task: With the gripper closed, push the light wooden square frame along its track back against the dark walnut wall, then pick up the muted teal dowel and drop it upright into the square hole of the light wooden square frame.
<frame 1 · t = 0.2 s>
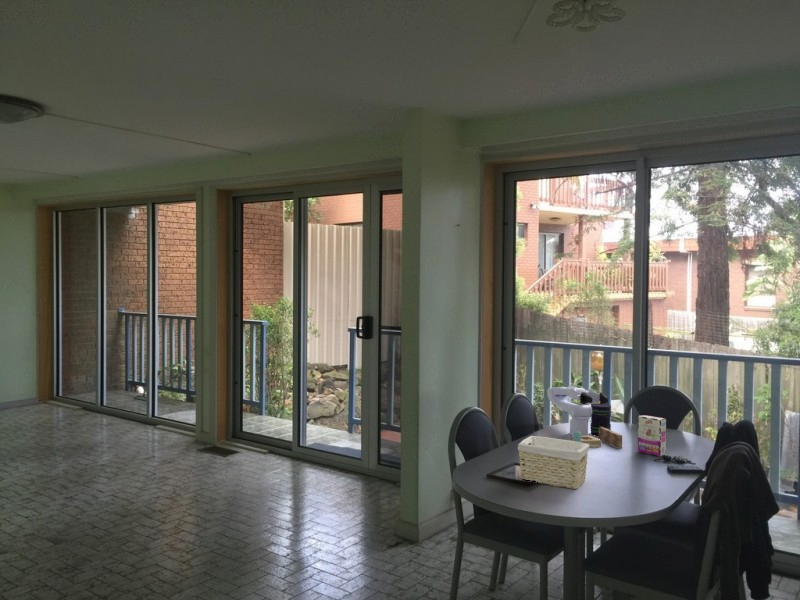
hand: (599, 400, 295), 21 cm above the table, tool horizontal, fingers open, 7 cm apart
dowel: (576, 449, 289), on the table
storage jar: (600, 434, 319), on the table
light wooden square frame: (586, 441, 298), point 2 cm above the table, slide at 6.0 cm
backstop wall: (609, 443, 301), on the table
storage basket: (553, 481, 241), on the table
candy bar box: (651, 454, 283), on the table
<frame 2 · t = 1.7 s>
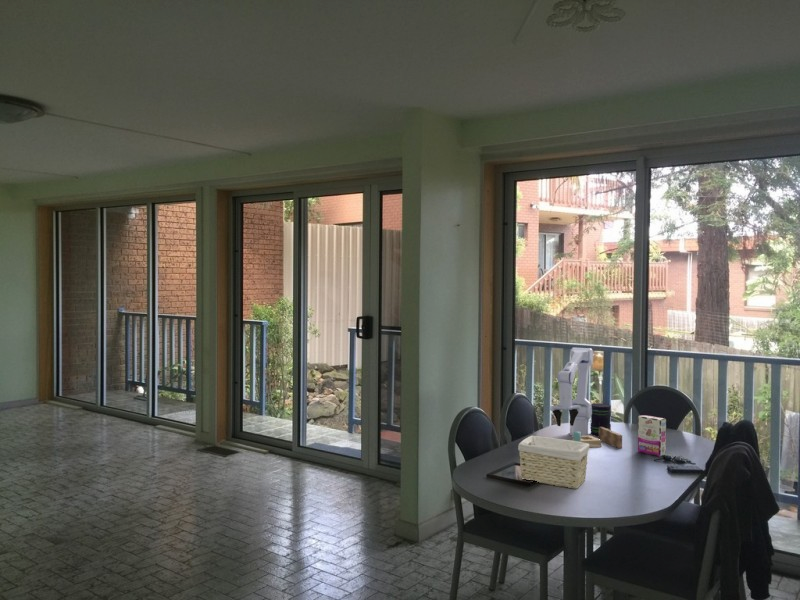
hand: (565, 425, 296), 9 cm above the table, tool pointing down, fingers open, 6 cm apart
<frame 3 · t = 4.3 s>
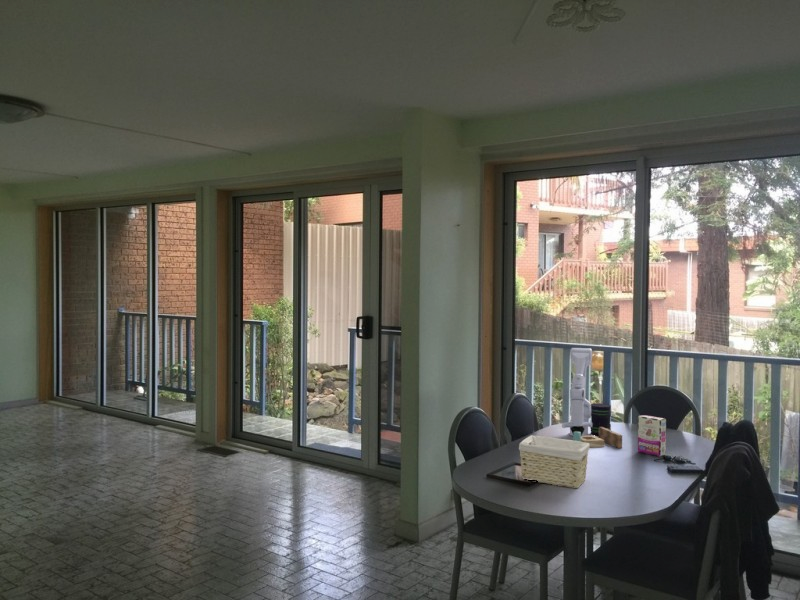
hand: (576, 442, 297), 1 cm above the table, tool pointing down, fingers closed
light wooden square frame: (589, 441, 298), point 2 cm above the table, slide at 4.5 cm, touching gripper
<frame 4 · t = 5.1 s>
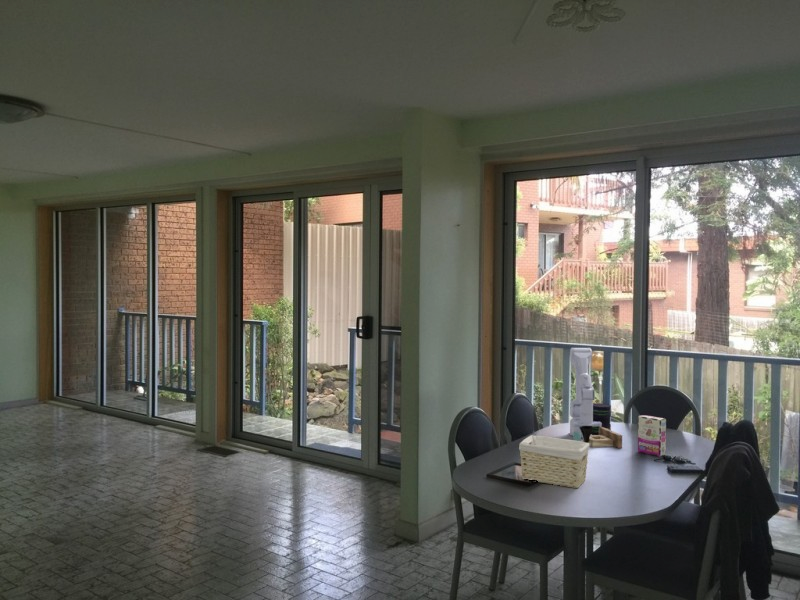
hand: (586, 442, 298), 1 cm above the table, tool pointing down, fingers closed
light wooden square frame: (597, 440, 299), point 1 cm above the table, slide at -0.1 cm, touching gripper
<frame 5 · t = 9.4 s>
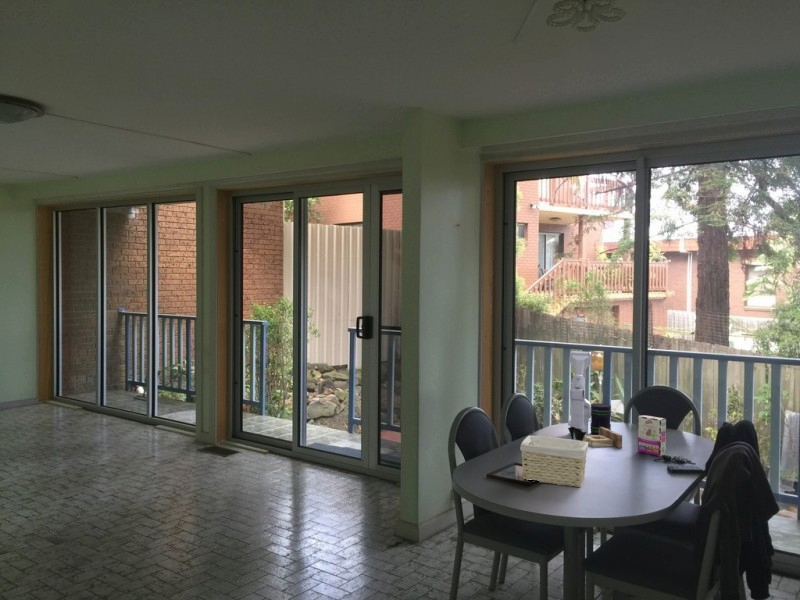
hand: (576, 444, 289), 2 cm above the table, tool pointing down, fingers closed on dowel, 3 cm apart
dowel: (576, 449, 289), on the table, touching gripper
light wooden square frame: (597, 440, 299), point 2 cm above the table, slide at 0.0 cm
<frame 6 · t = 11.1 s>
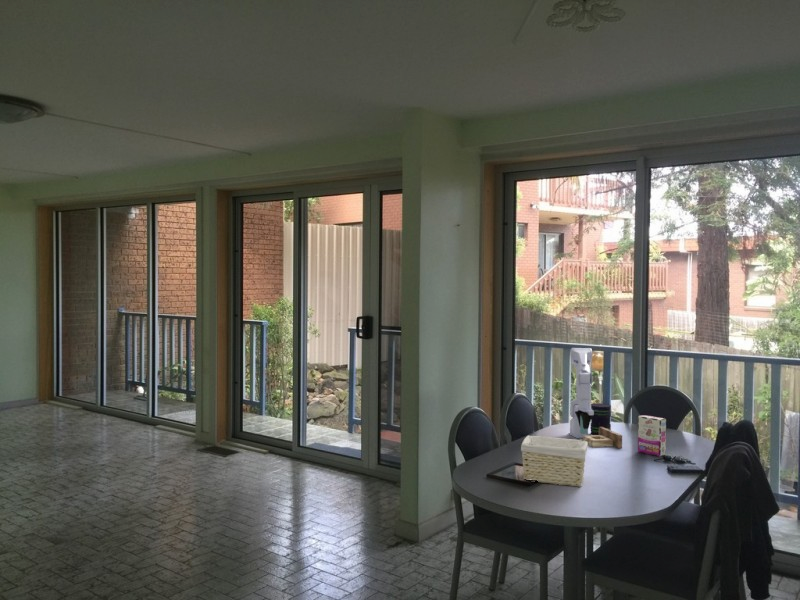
hand: (583, 427, 292), 9 cm above the table, tool pointing down, fingers closed on dowel, 3 cm apart
dowel: (583, 433, 292), point 7 cm above the table, touching gripper
when the fingers open (4 cm above the table, at t = 13.1 s): dowel drops 1 cm, resting in light wooden square frame.
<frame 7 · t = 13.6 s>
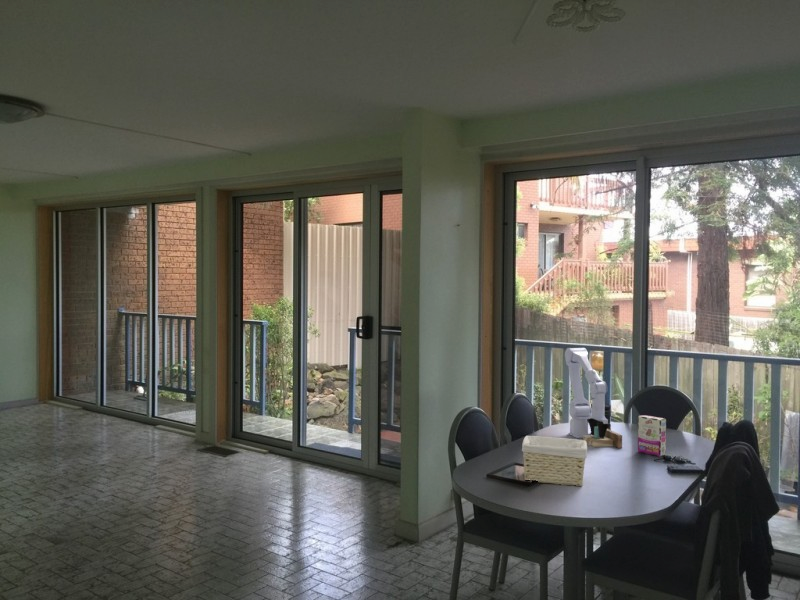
hand: (597, 435, 299), 4 cm above the table, tool pointing down, fingers open, 7 cm apart
dowel: (597, 444, 299), resting in light wooden square frame
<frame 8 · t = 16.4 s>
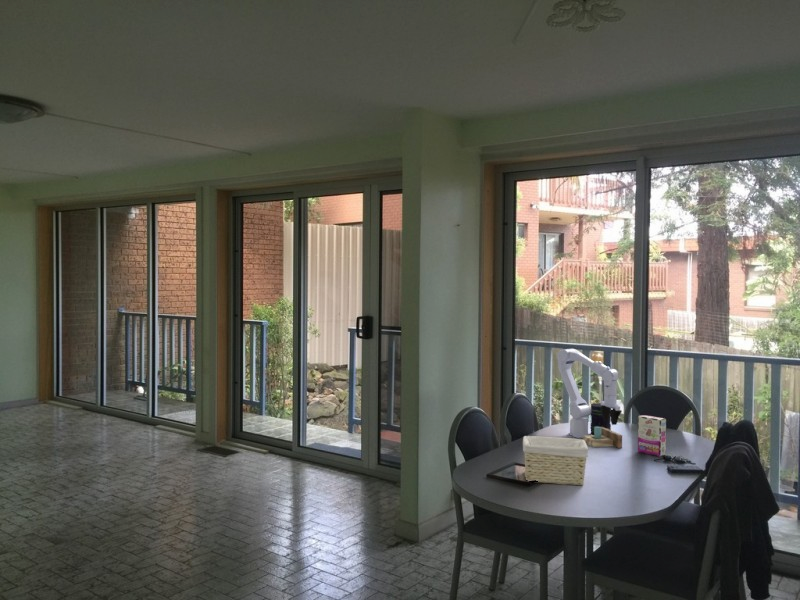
hand: (609, 422, 302), 9 cm above the table, tool pointing down, fingers open, 7 cm apart
at the end: light wooden square frame slide at 0.0 cm; dowel 0.6 cm from the target spot, resting in light wooden square frame; dowel tilted 0° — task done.
